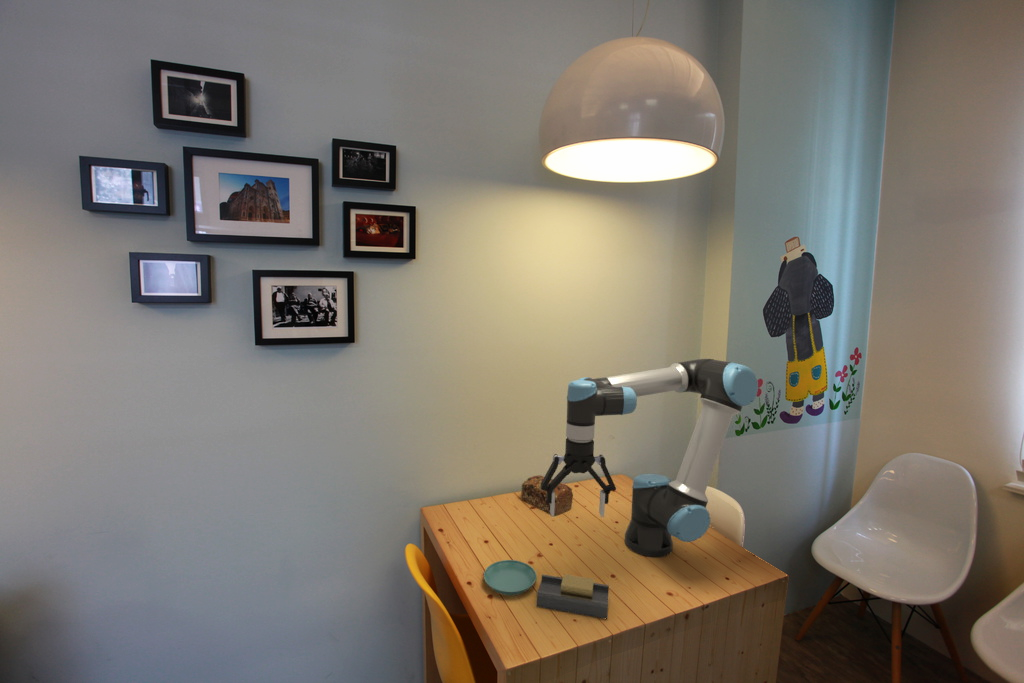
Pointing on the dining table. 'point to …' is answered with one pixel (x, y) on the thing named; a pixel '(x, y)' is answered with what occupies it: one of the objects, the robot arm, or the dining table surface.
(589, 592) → the tan rectangular block
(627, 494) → the dining table surface
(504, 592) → the saucer
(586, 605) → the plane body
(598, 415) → the robot arm
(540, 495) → the bread
